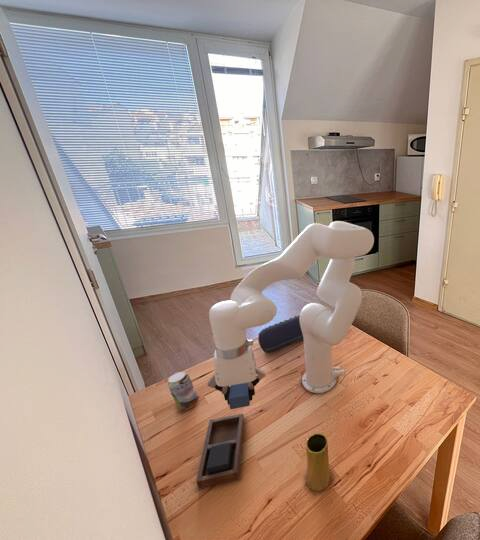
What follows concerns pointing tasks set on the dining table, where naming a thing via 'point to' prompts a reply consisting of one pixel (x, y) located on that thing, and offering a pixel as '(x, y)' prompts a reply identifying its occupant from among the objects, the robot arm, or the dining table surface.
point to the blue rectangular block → (239, 396)
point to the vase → (317, 462)
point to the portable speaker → (280, 334)
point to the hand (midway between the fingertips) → (240, 398)
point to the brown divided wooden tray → (217, 435)
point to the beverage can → (182, 390)
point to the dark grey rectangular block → (220, 458)
